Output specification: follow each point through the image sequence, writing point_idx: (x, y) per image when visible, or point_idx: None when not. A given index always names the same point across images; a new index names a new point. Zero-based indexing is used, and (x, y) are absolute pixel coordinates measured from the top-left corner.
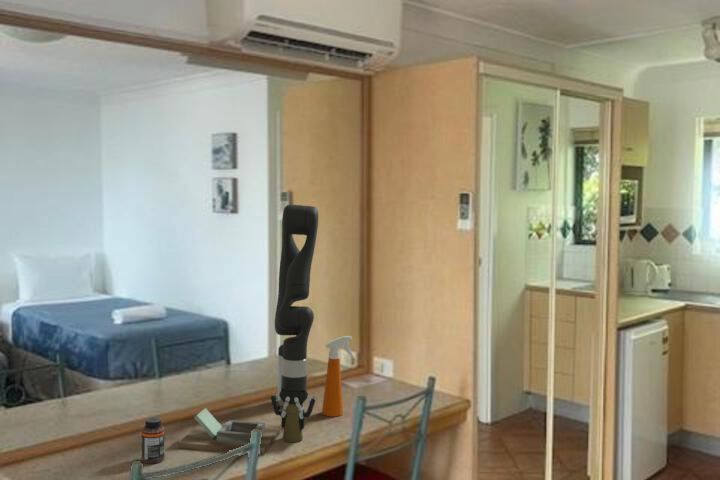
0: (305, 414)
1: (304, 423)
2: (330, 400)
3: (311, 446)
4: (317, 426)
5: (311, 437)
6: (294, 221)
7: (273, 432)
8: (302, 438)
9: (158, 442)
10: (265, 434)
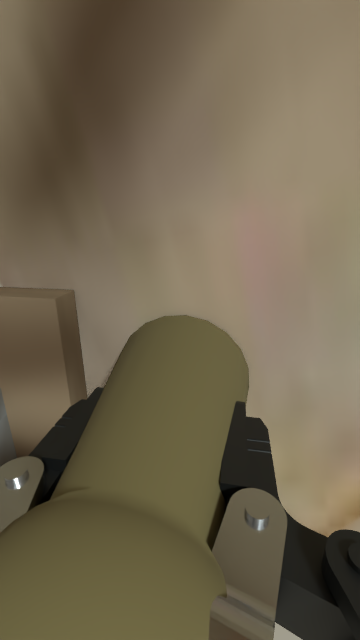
0: (306, 625)
1: (270, 455)
2: None
3: (320, 470)
4: (347, 7)
5: (307, 327)
6: None
7: (46, 378)
8: (248, 386)
9: None
10: (19, 416)
